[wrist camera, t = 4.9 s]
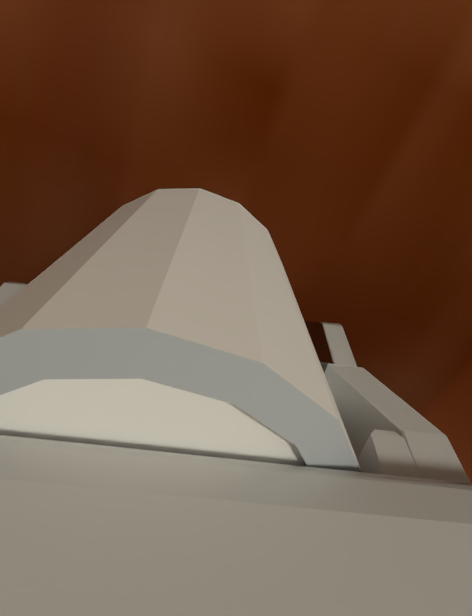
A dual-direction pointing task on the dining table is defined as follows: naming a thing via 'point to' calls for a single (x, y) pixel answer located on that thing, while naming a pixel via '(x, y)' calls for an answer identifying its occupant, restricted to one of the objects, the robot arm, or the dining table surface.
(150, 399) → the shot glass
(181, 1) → the dining table surface
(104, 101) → the dining table surface
